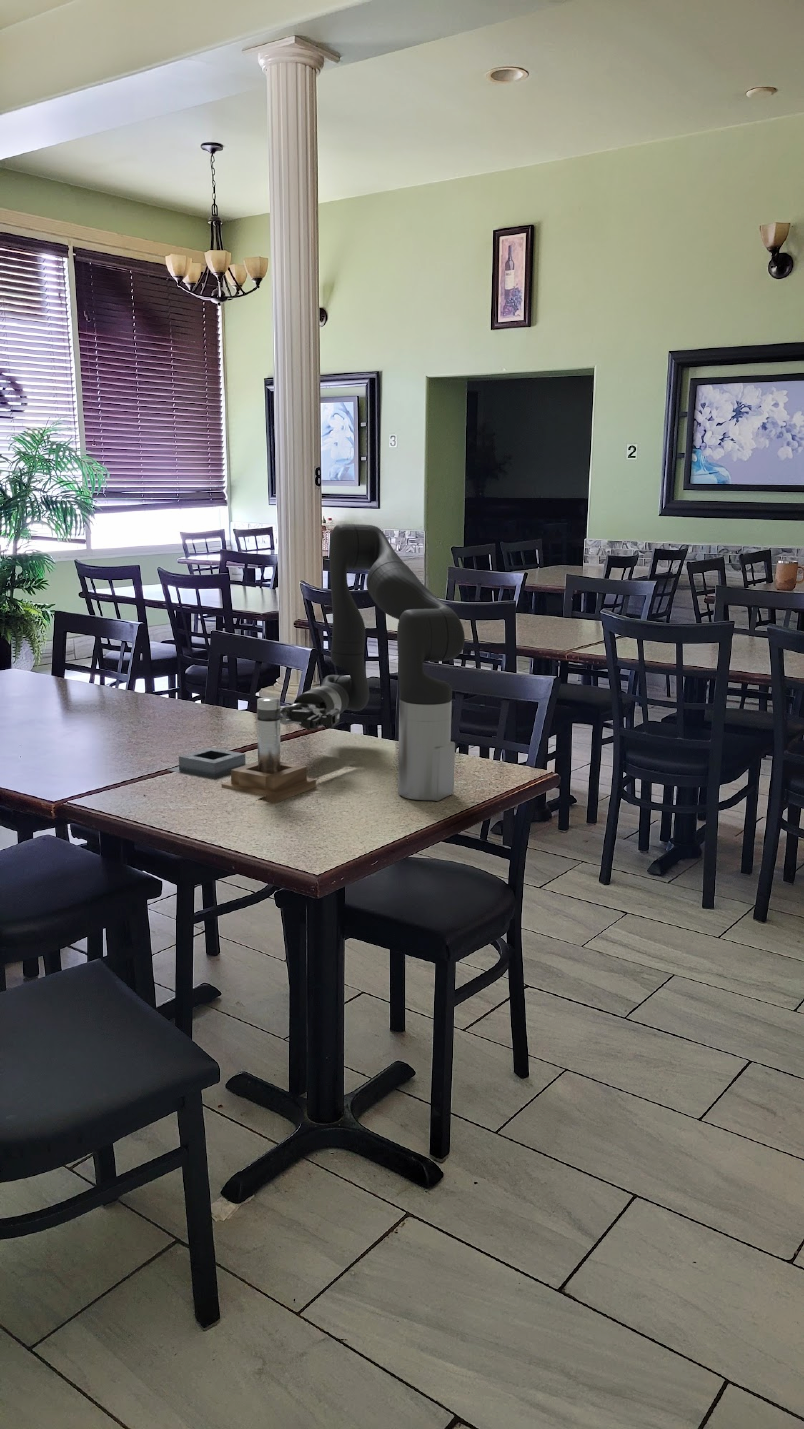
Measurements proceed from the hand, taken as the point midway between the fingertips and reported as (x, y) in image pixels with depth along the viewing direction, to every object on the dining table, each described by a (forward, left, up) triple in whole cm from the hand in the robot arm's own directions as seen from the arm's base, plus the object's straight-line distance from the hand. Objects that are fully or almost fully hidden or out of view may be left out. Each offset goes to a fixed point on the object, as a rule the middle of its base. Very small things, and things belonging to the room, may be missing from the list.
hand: (287, 723), depth 194 cm
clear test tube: (-2, +8, -9) cm, 12 cm away
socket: (+14, +5, -10) cm, 18 cm away
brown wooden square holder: (-2, +8, -10) cm, 14 cm away
